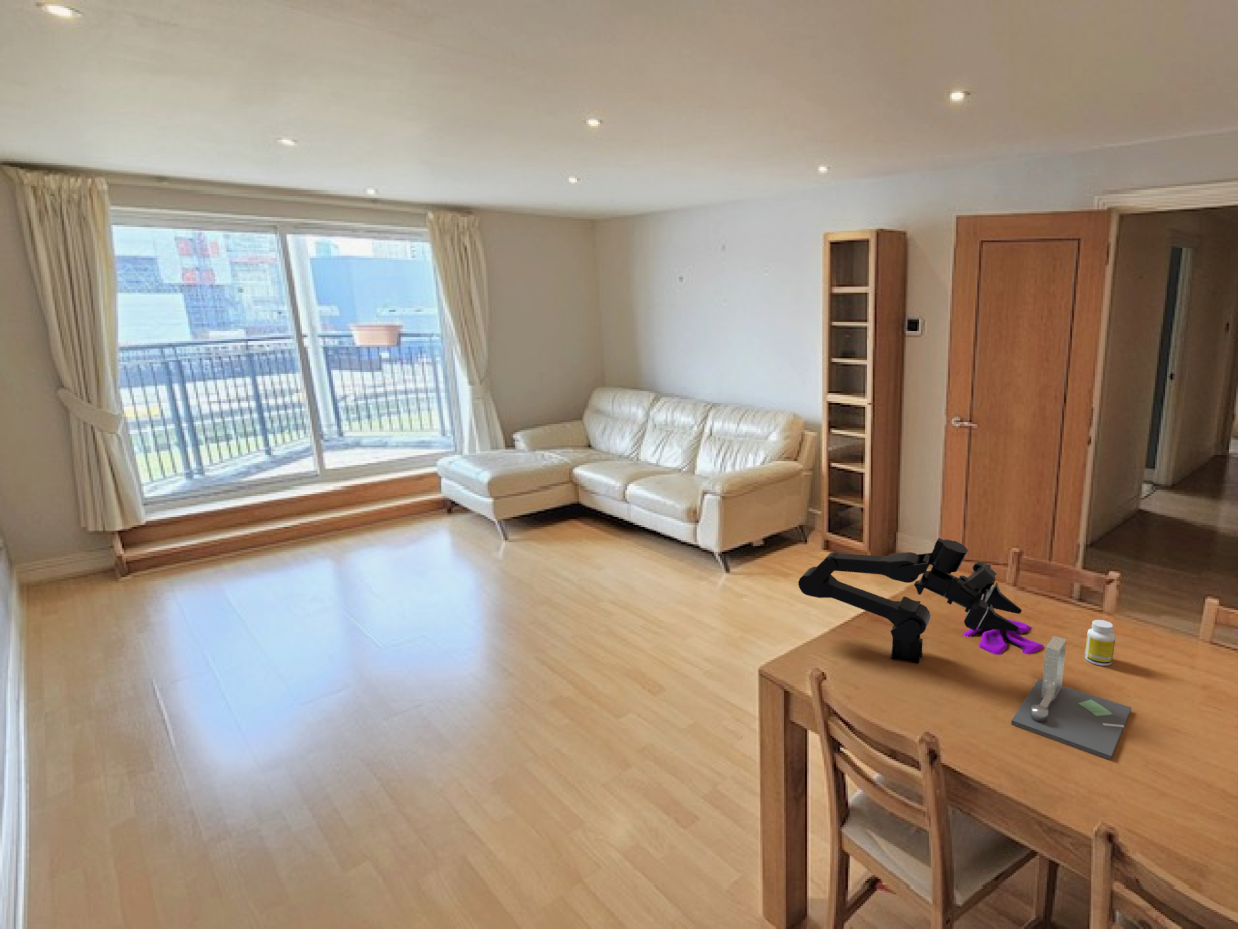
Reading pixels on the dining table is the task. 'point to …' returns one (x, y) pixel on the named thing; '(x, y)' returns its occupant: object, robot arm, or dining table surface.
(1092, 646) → the supplement bottle
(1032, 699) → the plate
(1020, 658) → the dining table surface
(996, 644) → the cloth
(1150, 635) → the dining table surface
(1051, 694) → the frosted block on spoon
